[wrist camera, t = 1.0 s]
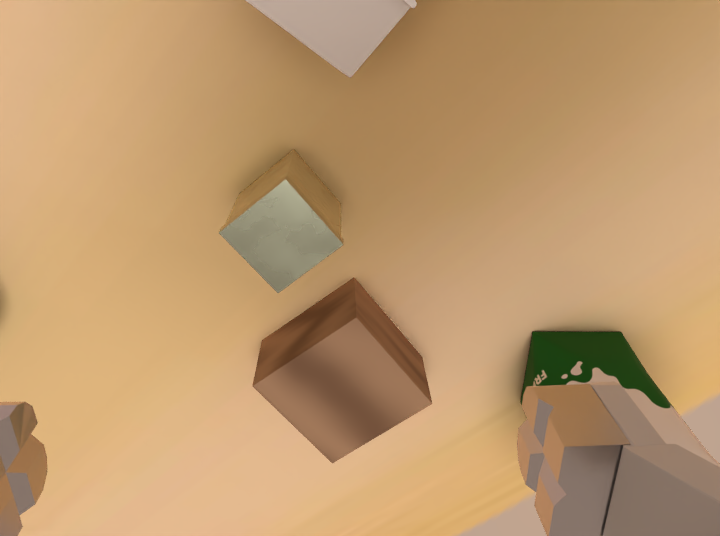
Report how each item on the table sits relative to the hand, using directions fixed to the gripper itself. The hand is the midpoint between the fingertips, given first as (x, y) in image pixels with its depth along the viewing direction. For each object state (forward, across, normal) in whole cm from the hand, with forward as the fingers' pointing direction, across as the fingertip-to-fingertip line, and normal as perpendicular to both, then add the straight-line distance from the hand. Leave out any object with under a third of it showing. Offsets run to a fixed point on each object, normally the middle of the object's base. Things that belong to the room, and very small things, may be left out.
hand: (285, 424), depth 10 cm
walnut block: (+33, -2, +19) cm, 38 cm away
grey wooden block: (+32, +2, +6) cm, 33 cm away
